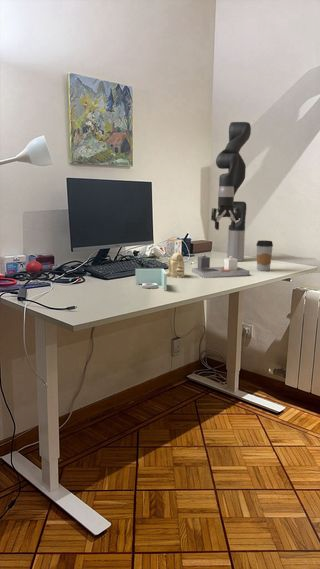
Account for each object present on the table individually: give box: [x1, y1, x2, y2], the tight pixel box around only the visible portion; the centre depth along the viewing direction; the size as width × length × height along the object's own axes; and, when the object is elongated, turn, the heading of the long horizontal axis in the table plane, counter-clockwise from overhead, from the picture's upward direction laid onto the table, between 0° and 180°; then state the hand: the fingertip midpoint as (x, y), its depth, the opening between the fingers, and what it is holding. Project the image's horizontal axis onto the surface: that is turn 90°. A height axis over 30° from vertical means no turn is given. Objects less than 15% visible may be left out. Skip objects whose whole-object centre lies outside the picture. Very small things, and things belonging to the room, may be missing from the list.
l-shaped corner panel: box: [135, 268, 168, 292], centre depth 191 cm, size 12×12×8 cm
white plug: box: [223, 256, 238, 270], centre depth 226 cm, size 5×5×8 cm
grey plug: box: [197, 253, 211, 268], centre depth 235 cm, size 5×5×8 cm
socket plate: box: [191, 266, 250, 279], centre depth 224 cm, size 14×24×3 cm, turn 109°
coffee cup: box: [256, 239, 274, 272], centre depth 237 cm, size 8×8×15 cm
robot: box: [165, 245, 188, 279], centre depth 214 cm, size 10×8×15 cm
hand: (224, 229), depth 228 cm, fingers open, 8 cm apart
